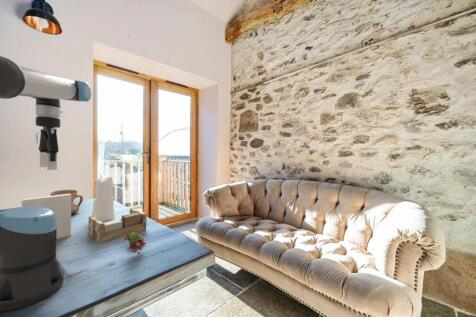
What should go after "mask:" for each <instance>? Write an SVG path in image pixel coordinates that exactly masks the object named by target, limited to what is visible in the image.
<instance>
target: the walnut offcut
mask: <svg viewBox="0 0 476 317" xmlns="http://www.w3.org/2000/svg"><path fill="white" fill-rule="evenodd" d="M121 219H122V228H125V227H129V226H133V225H137V224H140V214H139V213H137V212H136V213H131V214H130V213H128V214H122V215H121Z"/></svg>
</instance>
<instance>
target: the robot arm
mask: <svg viewBox="0 0 476 317" xmlns="http://www.w3.org/2000/svg"><path fill="white" fill-rule="evenodd" d="M17 97H29V98H33V99H35V116H36V117H35V126H37V127H41V129H40V131H39V132H40V138H39V146H38V151H39V168H46V169H47V171H54V170H55V171H56V170H58V153H59V151H60V150H59V144H58V143H59V142H58V134H57V129H58V128H59V129H60V128H61V119H60V118H61V114H63V111H61V102H62V101H73V102H87V103H88V102H89V101H91V98H92V89H91V86H90V84H89V83H88V82H86V81H81V80H74V79H70V78H65V77H60V76H58V75H54V74H50V73H47V72H43V71H39V70H36V69H32V68H28V67H25V66H20V65H18V64H17V63H16V62H14V61H13V60H11V59H9V58H7V57H5V56H2V55H0V99H3V100H6V99H7V100H8V99H9V100H10V99H14V98H17ZM56 238H57V220H56V214H55V212H53V211H52V210H50V209H47V208H42V207H24V208H22V206H21V207H13V208H8V209H4V210H2V211H0V313H2V312H3V311H5V312H11V311H16V310H19V308H20V309H23V308H25V307H29V306H31V305H34V304H36V303H38V302H41V301H43V300H45V299H46V298H48V297H50V296H51V295H53V294H54V293H56V292H57V291H58V290H59V289H61V287H62V286H63V284H64V281H65V280H64V271H63V269H62V266H61V265H60V263H59V261H58V259H57V239H56ZM15 309H16V310H15ZM3 313H4V312H3Z"/></svg>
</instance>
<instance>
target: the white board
mask: <svg viewBox="0 0 476 317" xmlns="http://www.w3.org/2000/svg"><path fill="white" fill-rule="evenodd" d="M24 207H42V208H47V209H50V210H52V211H53V212H55V214H56V220H57V238H56V240H58V239H62V238H65V237H70V236H71V235H72V215H71V194H64V195H55V196H51V195H49V196H48V195H47V196H39V197H38V196H37V197H30V198H21V208H24Z"/></svg>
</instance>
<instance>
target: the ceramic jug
mask: <svg viewBox="0 0 476 317" xmlns="http://www.w3.org/2000/svg"><path fill="white" fill-rule="evenodd" d="M64 194H71V216H72V215H73V214H76V213H77V212H79V211H80V206H81V205H82V204H83V200H84V197H83V195H81V194H78V190H77V189H60V190H54V191H53V190H52V191H50V196H55V195H64ZM77 198H79V202H78V204H76V203H74V201H75V200H76V199H77Z"/></svg>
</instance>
